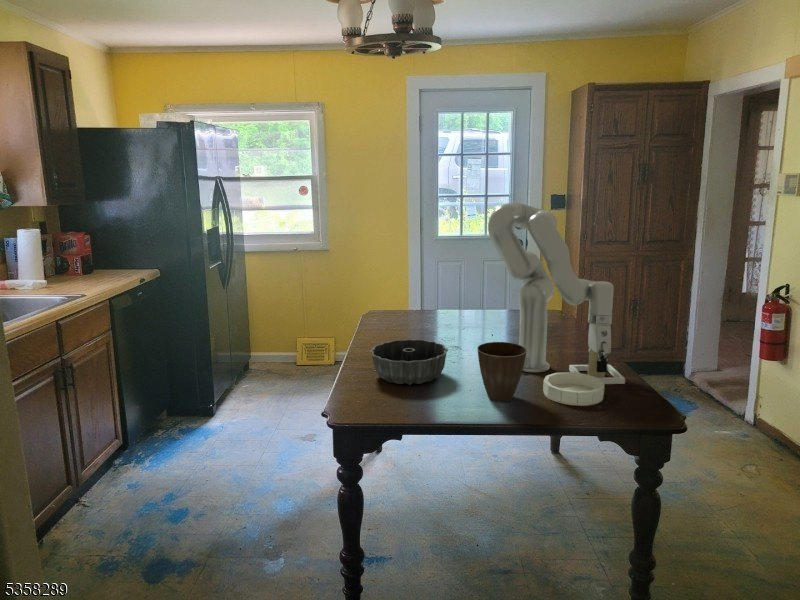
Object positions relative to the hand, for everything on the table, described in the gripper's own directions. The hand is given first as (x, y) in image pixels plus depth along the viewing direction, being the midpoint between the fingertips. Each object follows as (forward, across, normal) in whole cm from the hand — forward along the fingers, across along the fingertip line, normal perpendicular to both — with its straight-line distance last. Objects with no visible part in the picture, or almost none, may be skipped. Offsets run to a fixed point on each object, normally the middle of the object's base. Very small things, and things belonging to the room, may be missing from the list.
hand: (597, 367), depth 200 cm
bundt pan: (+3, +2, +64) cm, 64 cm away
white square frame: (+3, 0, 0) cm, 3 cm away
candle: (+4, 0, 0) cm, 4 cm away
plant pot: (+3, -19, +36) cm, 41 cm away
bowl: (+3, -16, +13) cm, 21 cm away
